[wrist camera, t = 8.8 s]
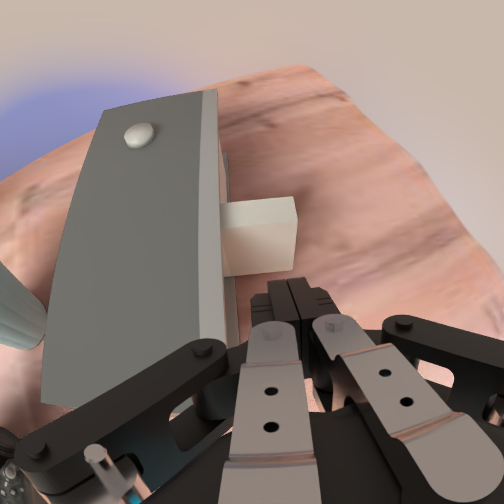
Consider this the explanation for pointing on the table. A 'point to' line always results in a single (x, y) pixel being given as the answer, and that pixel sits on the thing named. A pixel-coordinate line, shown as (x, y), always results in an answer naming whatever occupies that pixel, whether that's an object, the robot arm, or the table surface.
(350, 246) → the table surface
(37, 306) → the cup
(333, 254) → the table surface
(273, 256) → the side door
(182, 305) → the grey box
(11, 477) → the camera
